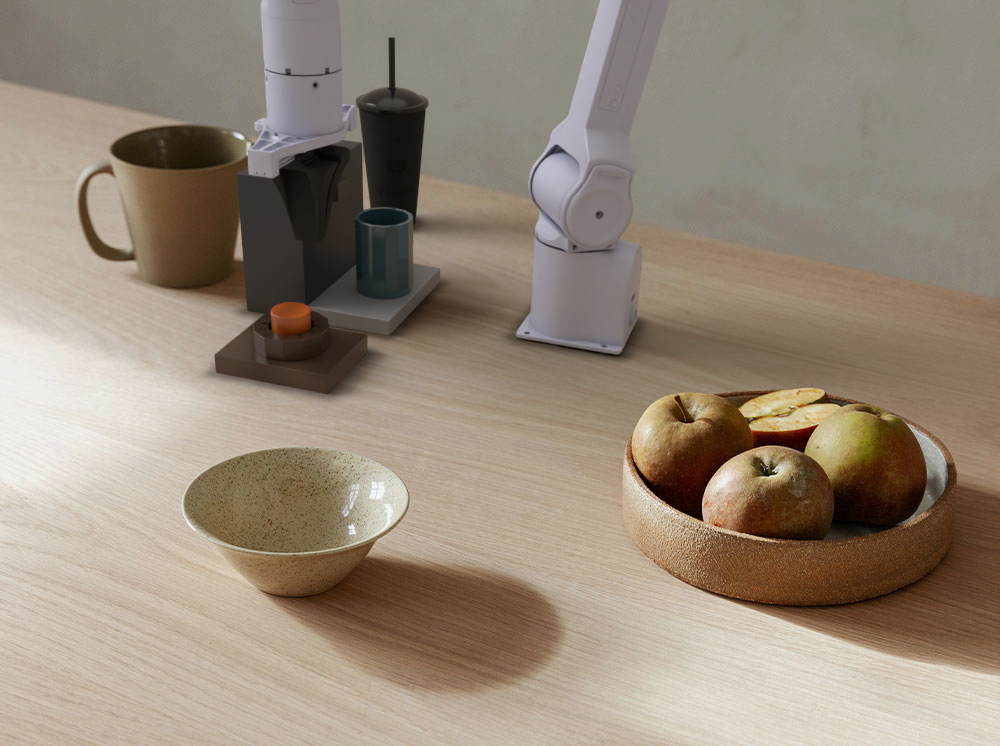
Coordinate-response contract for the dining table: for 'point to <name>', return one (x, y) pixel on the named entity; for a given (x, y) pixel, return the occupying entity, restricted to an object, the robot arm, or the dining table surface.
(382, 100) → the drinking cup
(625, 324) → the robot arm
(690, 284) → the dining table surface
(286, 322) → the brew button
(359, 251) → the creamer cup
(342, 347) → the button block
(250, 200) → the coffee maker
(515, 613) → the dining table surface
